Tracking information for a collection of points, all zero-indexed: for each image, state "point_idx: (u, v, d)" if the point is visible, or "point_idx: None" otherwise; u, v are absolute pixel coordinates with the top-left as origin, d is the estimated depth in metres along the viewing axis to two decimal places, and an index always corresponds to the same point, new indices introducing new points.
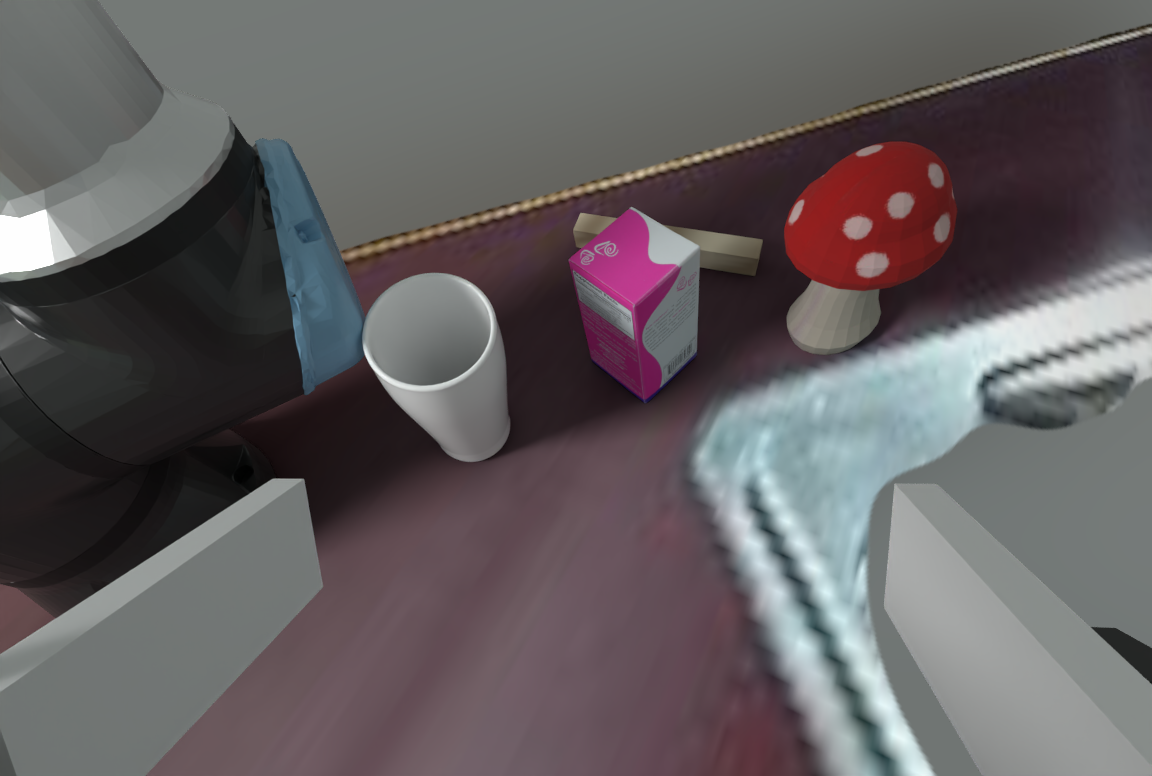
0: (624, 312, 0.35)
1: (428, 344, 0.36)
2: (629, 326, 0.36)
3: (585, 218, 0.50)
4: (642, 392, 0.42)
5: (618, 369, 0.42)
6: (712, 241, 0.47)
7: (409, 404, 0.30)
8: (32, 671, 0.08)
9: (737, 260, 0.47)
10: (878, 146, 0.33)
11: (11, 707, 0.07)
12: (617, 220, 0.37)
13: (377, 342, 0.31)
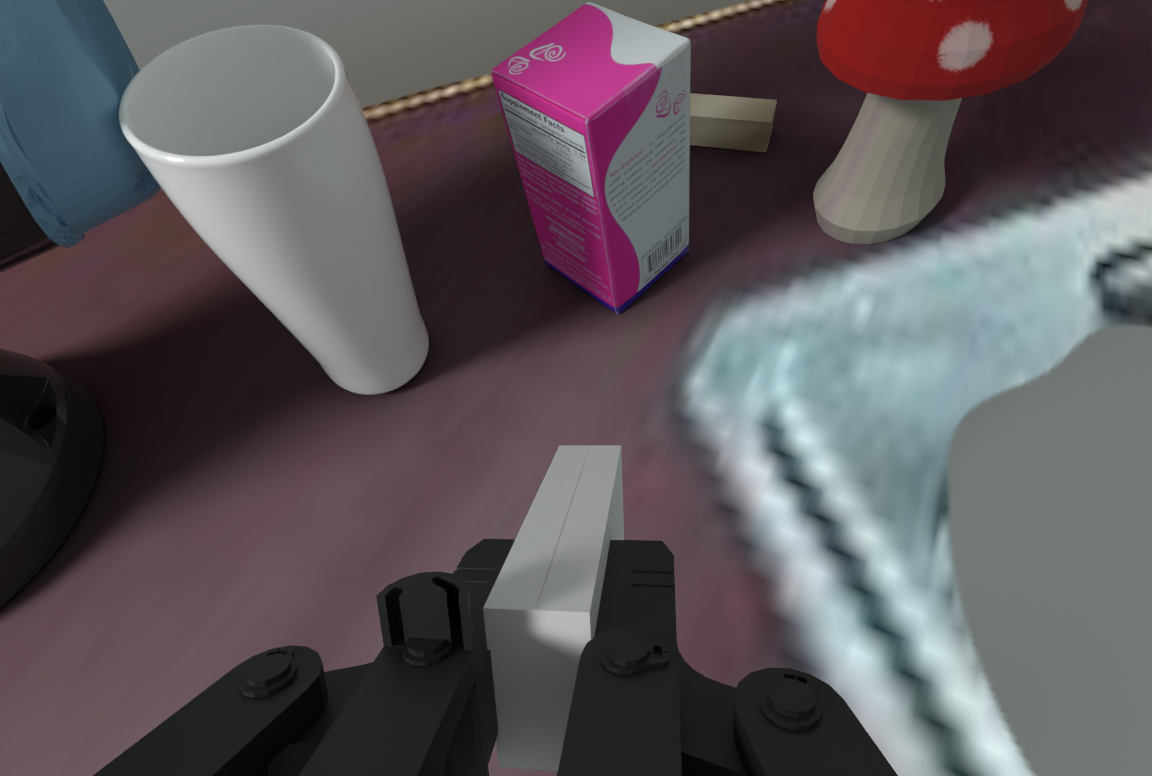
0: (574, 142, 0.23)
1: None
2: (583, 169, 0.23)
3: None
4: (612, 294, 0.29)
5: (578, 265, 0.30)
6: (708, 105, 0.35)
7: (201, 216, 0.18)
8: (539, 591, 0.09)
9: (742, 128, 0.34)
10: None
11: (541, 619, 0.08)
12: (566, 18, 0.25)
13: (168, 134, 0.20)
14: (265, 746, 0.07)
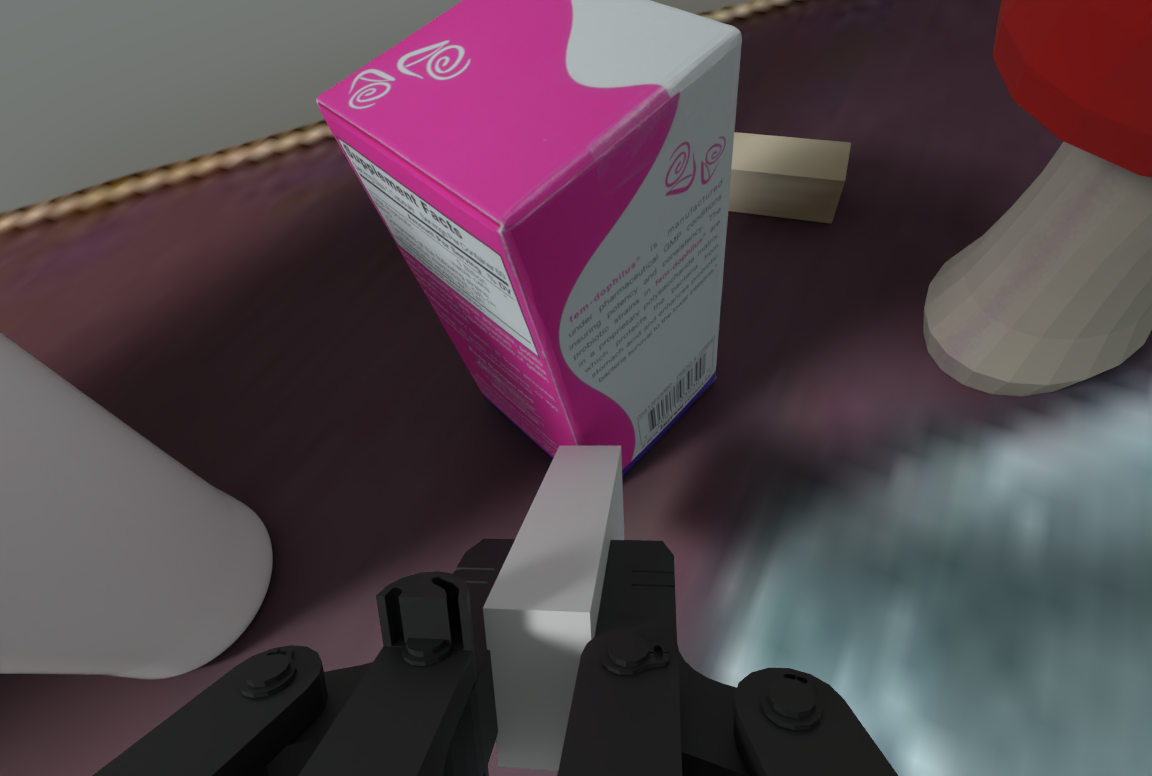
0: (485, 260, 0.10)
1: None
2: (512, 310, 0.11)
3: None
4: None
5: (528, 422, 0.17)
6: (741, 150, 0.22)
7: None
8: (539, 591, 0.09)
9: (796, 189, 0.22)
10: None
11: (541, 619, 0.08)
12: None
13: None
14: (264, 746, 0.07)
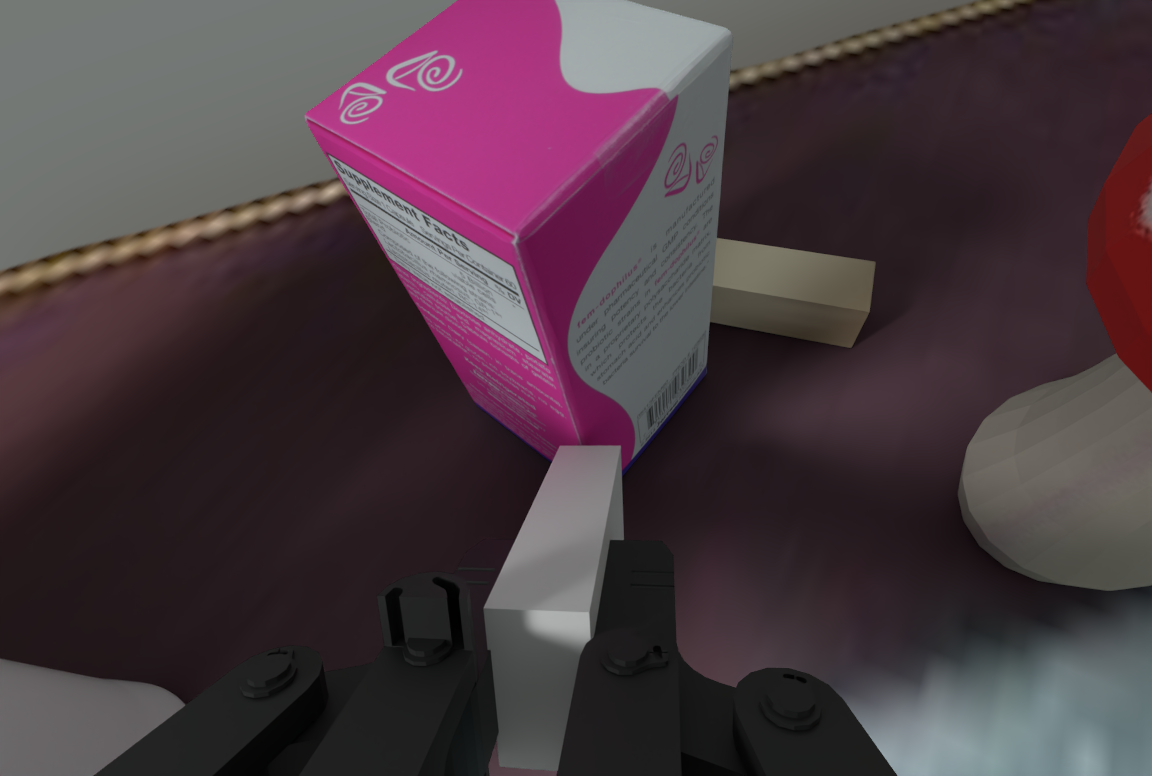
0: (494, 272, 0.10)
1: None
2: (520, 320, 0.11)
3: None
4: None
5: (527, 428, 0.17)
6: (750, 265, 0.20)
7: None
8: (540, 591, 0.09)
9: (813, 313, 0.19)
10: None
11: (541, 619, 0.08)
12: None
13: None
14: (265, 746, 0.07)
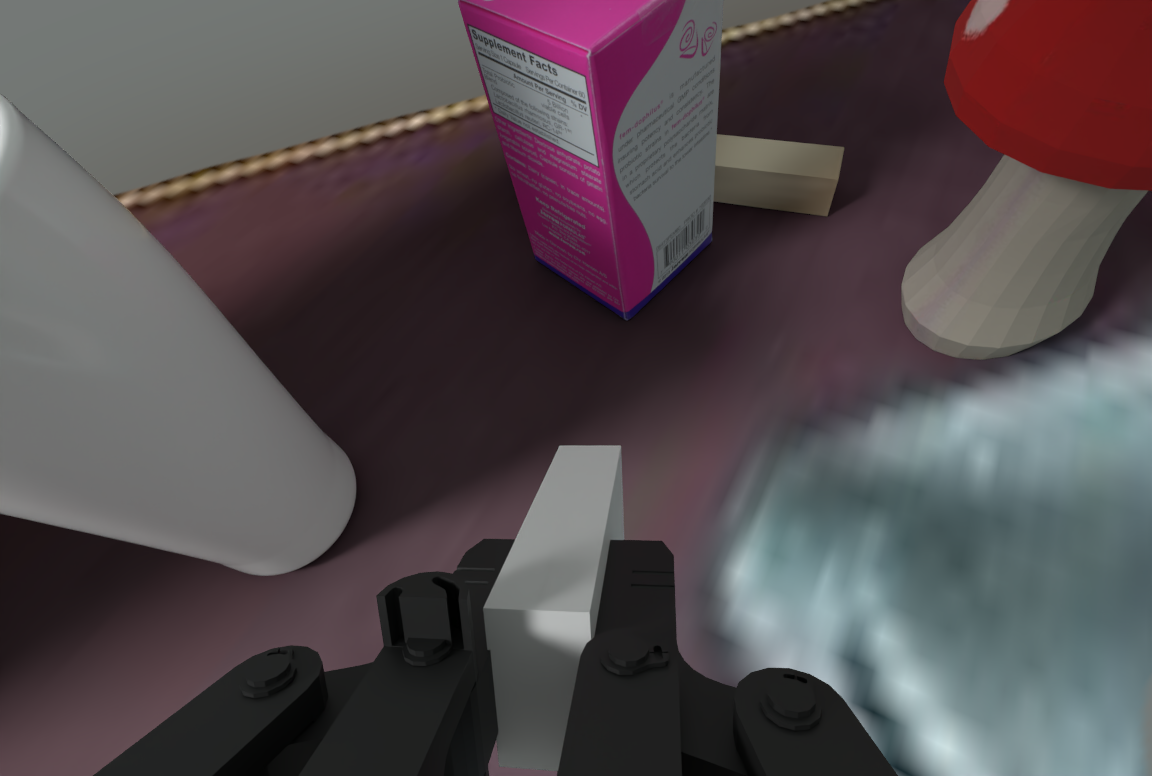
0: (572, 88, 0.17)
1: None
2: (584, 128, 0.18)
3: None
4: (621, 295, 0.23)
5: (576, 260, 0.24)
6: (750, 152, 0.26)
7: None
8: (539, 591, 0.09)
9: (797, 185, 0.25)
10: None
11: (541, 619, 0.08)
12: None
13: None
14: (265, 746, 0.07)
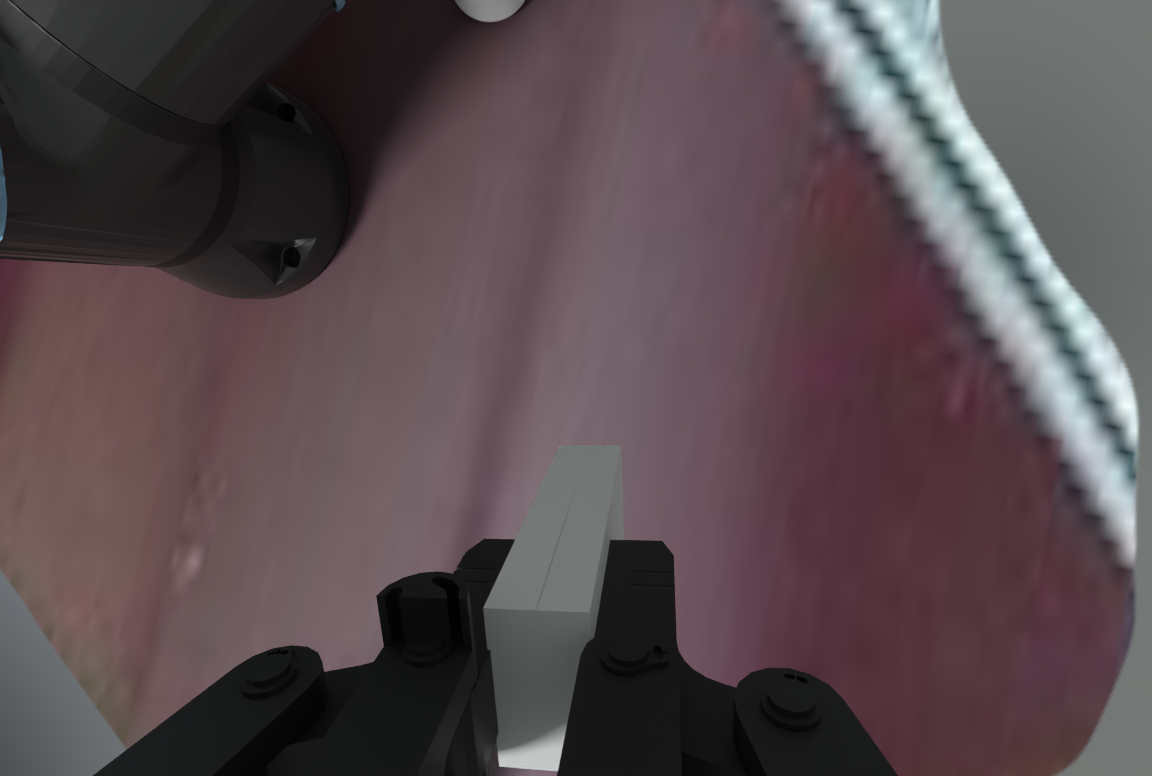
0: None
1: None
2: None
3: None
4: None
5: None
6: None
7: None
8: (539, 591, 0.09)
9: None
10: None
11: (541, 619, 0.08)
12: None
13: None
14: (265, 746, 0.07)
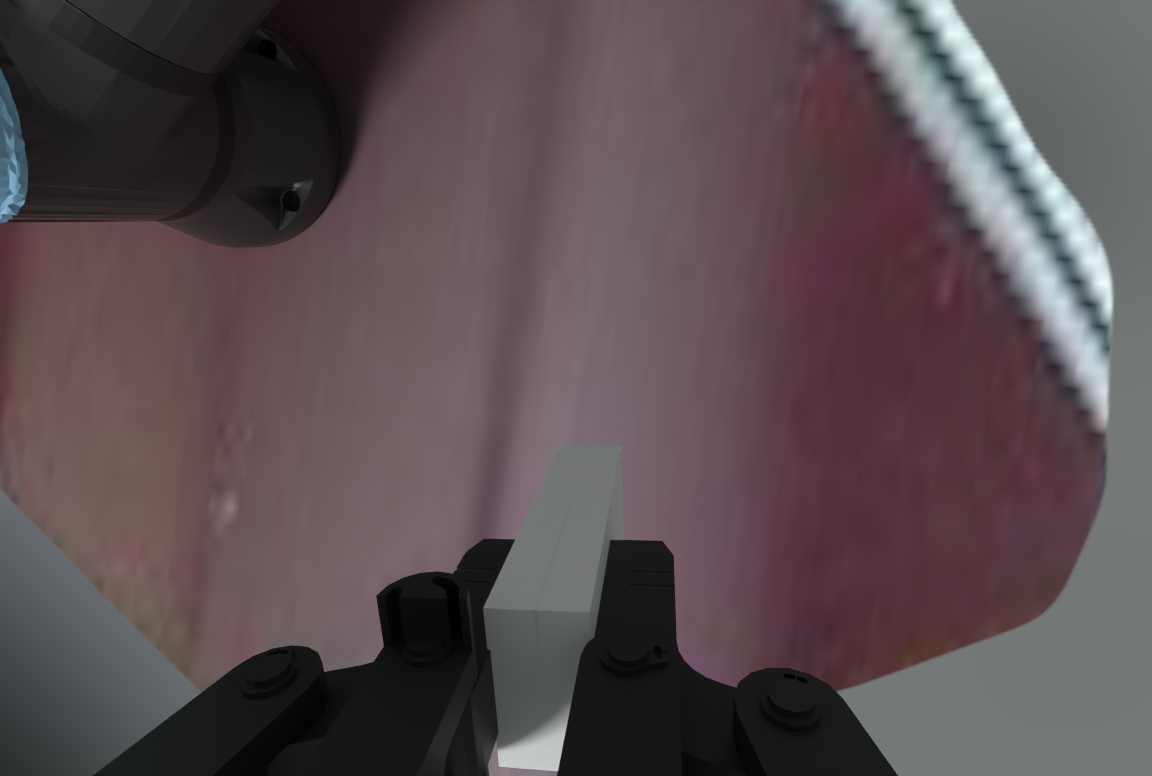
0: None
1: None
2: None
3: None
4: None
5: None
6: None
7: None
8: (539, 591, 0.09)
9: None
10: None
11: (541, 619, 0.08)
12: None
13: None
14: (265, 746, 0.07)
